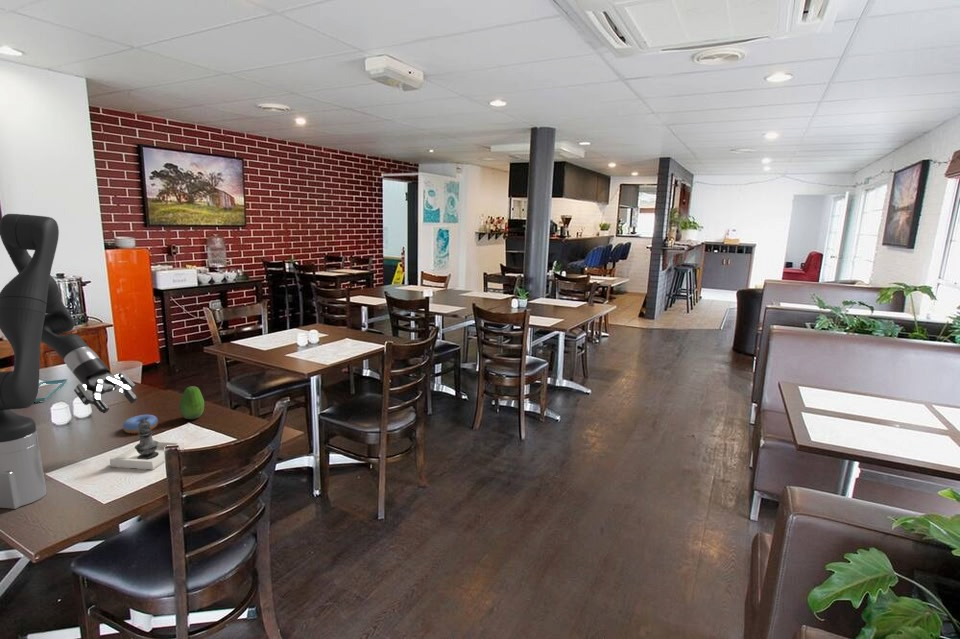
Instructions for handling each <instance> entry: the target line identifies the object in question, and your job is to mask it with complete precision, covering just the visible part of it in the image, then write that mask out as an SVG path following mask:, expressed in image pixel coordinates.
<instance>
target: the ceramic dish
mask: <svg viewBox="0 0 960 639" xmlns="http://www.w3.org/2000/svg"><path fill="white" fill-rule="evenodd" d="M153 441H157V442H158V446H157V449H156V450H155V452H158V453H159V454H158V456H156V457H155V458H152V459H149V460H144V459H137V457H138V456H139V455H141V454H139V453H138V452H137V450H136V449H135V446H136V445H137V444H139V443H140V441H139V442H138V443H136V444H133V446H131V447H129V448H127V449H125V450H123V451H122V452H119V453H118V454H116V455H114V456H113V457H110V458H109V465H110V468H114V467H117V468H118V469H130V468H137V469H136V470H146V469H151V470H150V471H154V470H155V469H157V468H158V467H160V466H161V465H163V464H164V447H165V446H167V445H179V446H180V448H181V449H184V450H185V445H184V444H185V443H184V441H172V440H170V441H169V440H157V439H156V440H154V439H153ZM117 468H116V469H117Z"/></svg>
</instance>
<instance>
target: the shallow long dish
mask: <svg viewBox="0 0 960 639" xmlns="http://www.w3.org/2000/svg"><path fill="white" fill-rule="evenodd" d="M67 382H68V378H64V379H53V380H45V381H41V382H40V381H39V386H40V385H41V384H43V383H46V384H58V383H62V384H60V385H59V386H58V387H57V388H56V389H54V390H53V391H52V392H51V393H49V394H48V395H47V396H46V397H43V398H36V400H35V402H40V401H45V400H46V399H47V400H48V399H49V398H51V397H52V396H53V395H54V394H56V393H57V392H58V391H59V390H60V389H61V388H62V387H63V386H65V385H66V384H67ZM65 383H66V384H65ZM64 384H65V385H64ZM59 388H60V389H59ZM58 389H59V390H58ZM57 390H58V391H57ZM56 391H57V392H56ZM53 393H54V394H53ZM52 394H53V395H52ZM51 395H52V396H51ZM50 396H51V397H50ZM47 400H46V401H47ZM46 401H45V402H46ZM40 403H41V402H40Z"/></svg>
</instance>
